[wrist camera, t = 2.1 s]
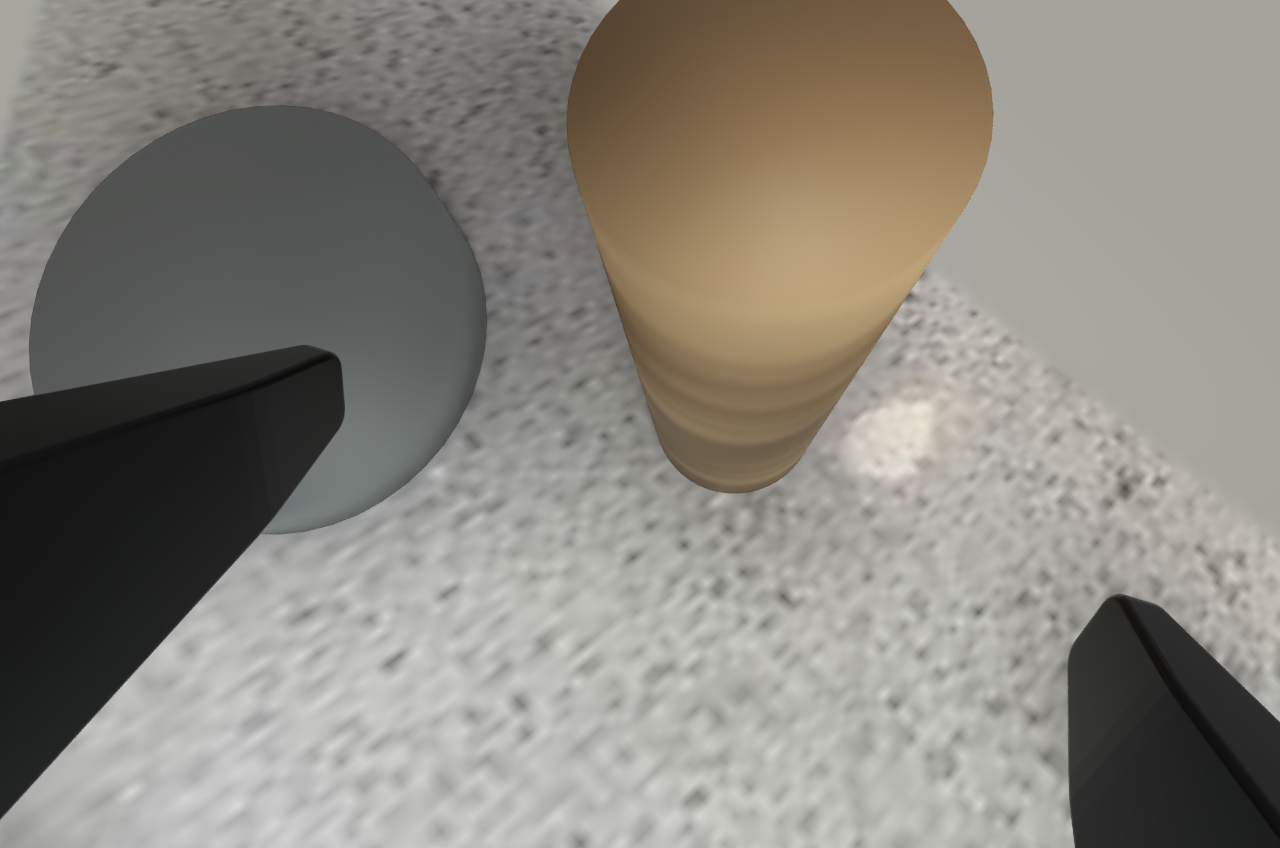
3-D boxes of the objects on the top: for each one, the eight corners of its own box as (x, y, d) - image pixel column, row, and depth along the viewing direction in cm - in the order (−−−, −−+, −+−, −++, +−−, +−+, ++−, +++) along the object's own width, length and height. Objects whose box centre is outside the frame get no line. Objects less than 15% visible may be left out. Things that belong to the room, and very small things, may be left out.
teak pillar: (819, 489, 19) (1024, 288, 6) (658, 497, 19) (569, 319, 7) (804, 337, 20) (961, -88, 7) (652, 347, 20) (564, -45, 8)
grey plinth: (484, 525, 19) (451, 514, 17) (82, 543, 20) (-4, 536, 18) (489, 144, 22) (461, 87, 19) (131, 175, 23) (62, 124, 20)
